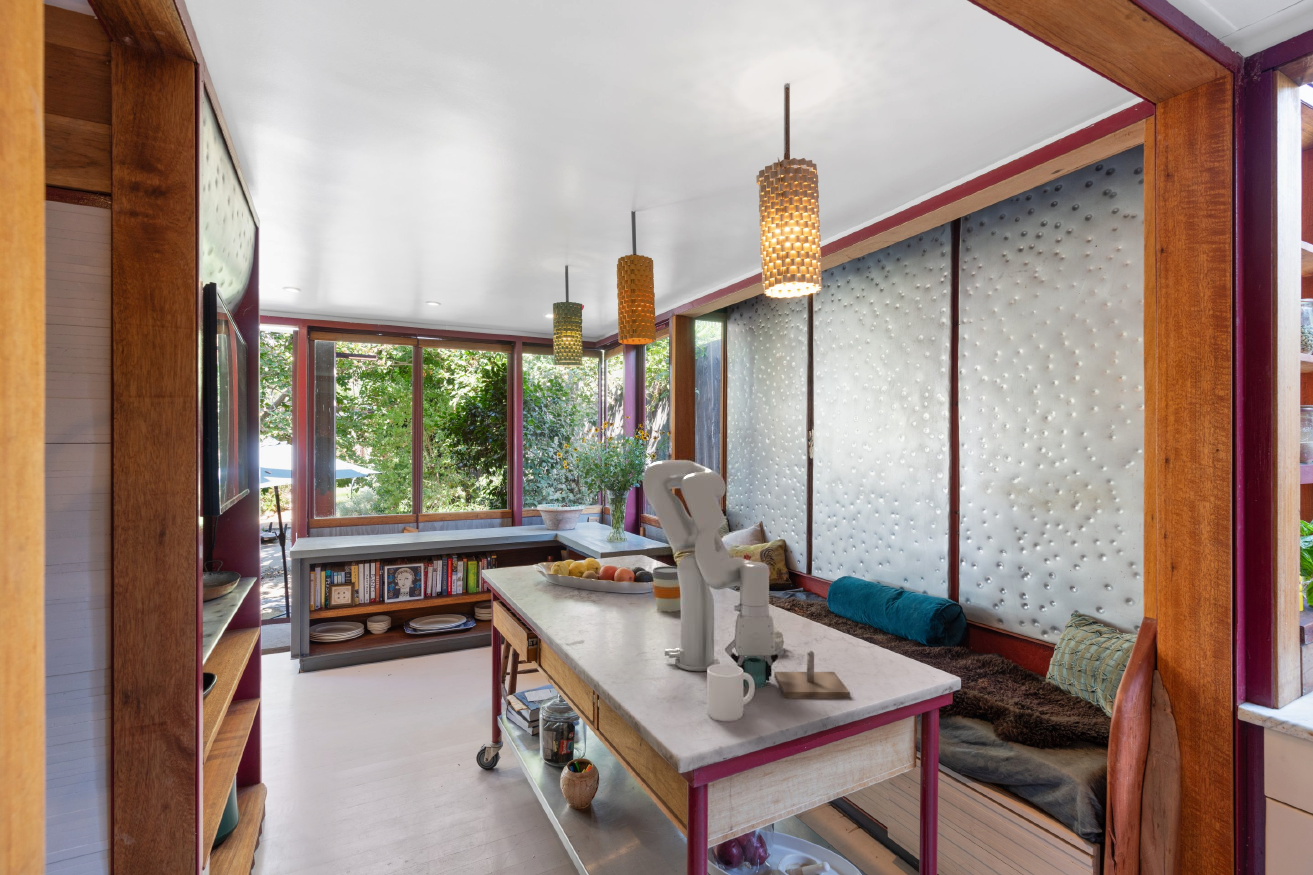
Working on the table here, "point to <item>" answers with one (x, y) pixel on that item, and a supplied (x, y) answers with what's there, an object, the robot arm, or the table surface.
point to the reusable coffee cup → (666, 588)
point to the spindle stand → (811, 683)
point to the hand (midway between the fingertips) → (754, 678)
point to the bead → (755, 670)
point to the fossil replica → (778, 638)
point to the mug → (727, 692)
